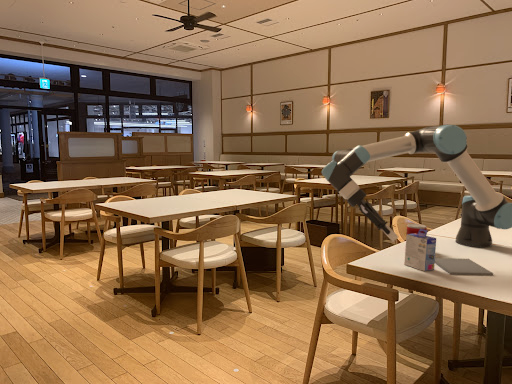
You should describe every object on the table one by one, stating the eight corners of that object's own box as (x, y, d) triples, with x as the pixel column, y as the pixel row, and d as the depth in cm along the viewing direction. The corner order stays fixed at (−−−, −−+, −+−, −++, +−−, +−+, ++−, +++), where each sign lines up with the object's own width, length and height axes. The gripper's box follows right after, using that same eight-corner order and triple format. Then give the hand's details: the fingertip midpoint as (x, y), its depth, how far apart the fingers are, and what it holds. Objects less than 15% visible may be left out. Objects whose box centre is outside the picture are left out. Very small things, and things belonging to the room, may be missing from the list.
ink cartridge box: (435, 269, 146) (437, 231, 144) (425, 272, 144) (427, 233, 142) (413, 262, 155) (415, 226, 153) (403, 264, 152) (405, 228, 151)
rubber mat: (468, 260, 158) (468, 258, 158) (493, 275, 140) (493, 273, 140) (430, 259, 159) (430, 258, 159) (450, 274, 141) (450, 272, 141)
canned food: (427, 252, 170) (428, 227, 168) (407, 251, 171) (408, 226, 170) (423, 248, 177) (424, 224, 176) (404, 247, 179) (405, 223, 177)
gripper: (349, 198, 163) (389, 241, 159) (343, 202, 151) (386, 249, 147) (362, 186, 161) (404, 229, 156) (357, 189, 149) (402, 236, 144)
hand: (395, 239), depth 151 cm, fingers closed
